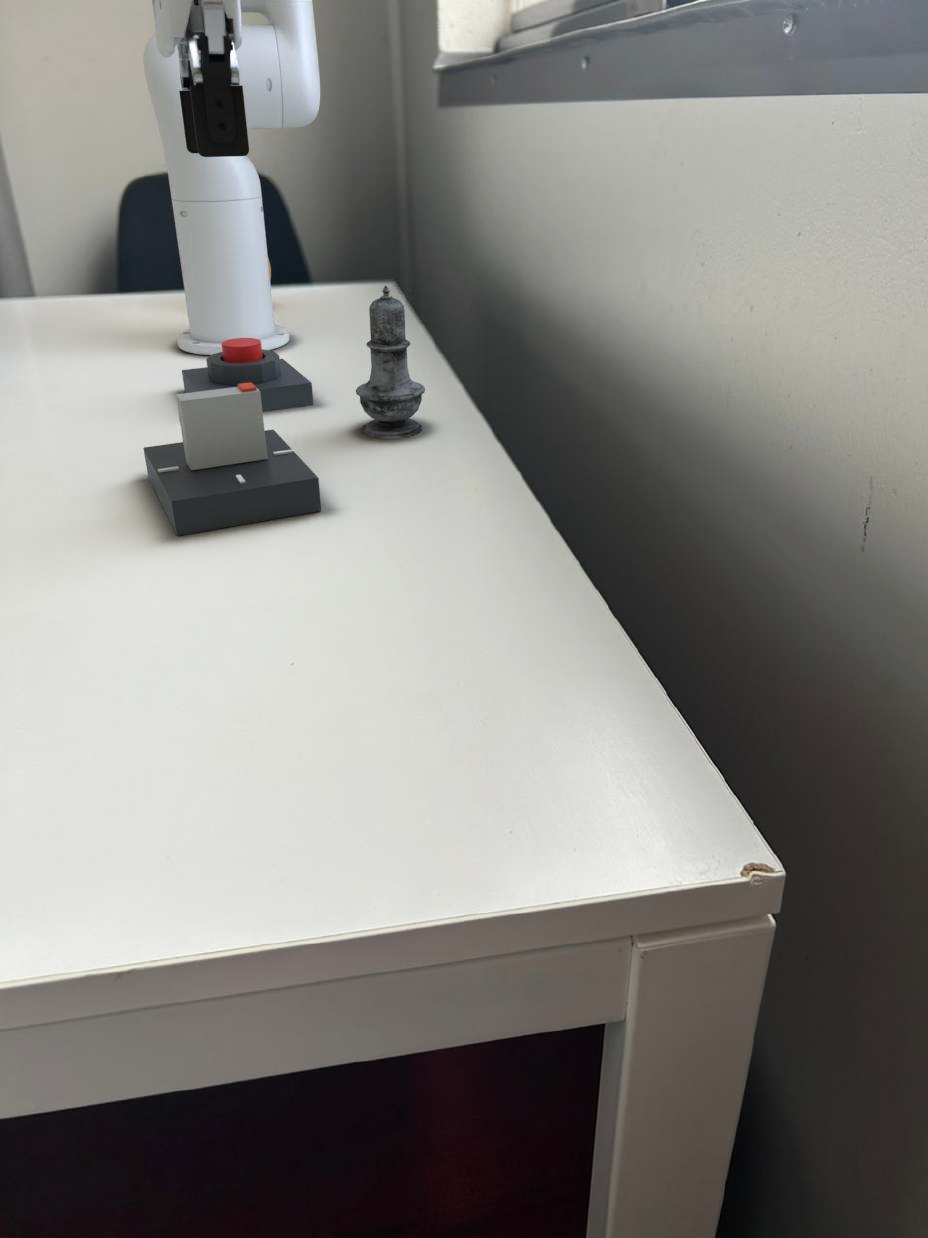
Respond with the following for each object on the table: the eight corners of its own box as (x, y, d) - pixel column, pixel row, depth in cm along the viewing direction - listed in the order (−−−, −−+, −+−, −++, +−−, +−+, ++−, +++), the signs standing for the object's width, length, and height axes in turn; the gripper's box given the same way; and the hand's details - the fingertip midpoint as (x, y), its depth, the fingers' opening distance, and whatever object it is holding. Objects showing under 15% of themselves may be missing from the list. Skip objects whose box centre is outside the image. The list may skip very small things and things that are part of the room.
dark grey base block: (148, 478, 75) (142, 445, 74) (276, 459, 79) (273, 427, 77) (177, 536, 66) (170, 498, 64) (321, 511, 69) (318, 475, 68)
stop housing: (184, 392, 96) (178, 351, 94) (284, 380, 100) (281, 340, 98) (205, 420, 88) (199, 375, 86) (313, 405, 92) (310, 362, 90)
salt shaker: (417, 442, 82) (412, 293, 76) (349, 438, 83) (339, 291, 77) (433, 421, 87) (429, 280, 81) (369, 418, 88) (361, 278, 82)
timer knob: (191, 470, 69) (180, 397, 67) (186, 462, 71) (175, 390, 68) (267, 459, 71) (259, 387, 69) (261, 451, 73) (253, 381, 70)
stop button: (220, 358, 93) (217, 339, 92) (257, 354, 94) (255, 335, 93) (228, 367, 90) (226, 348, 89) (267, 362, 91) (265, 343, 91)
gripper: (114, -130, 66) (154, 152, 74) (117, -203, 51) (167, 159, 59) (227, -125, 68) (255, 150, 76) (261, -193, 53) (291, 156, 61)
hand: (216, 154), depth 67 cm, fingers open, 9 cm apart
